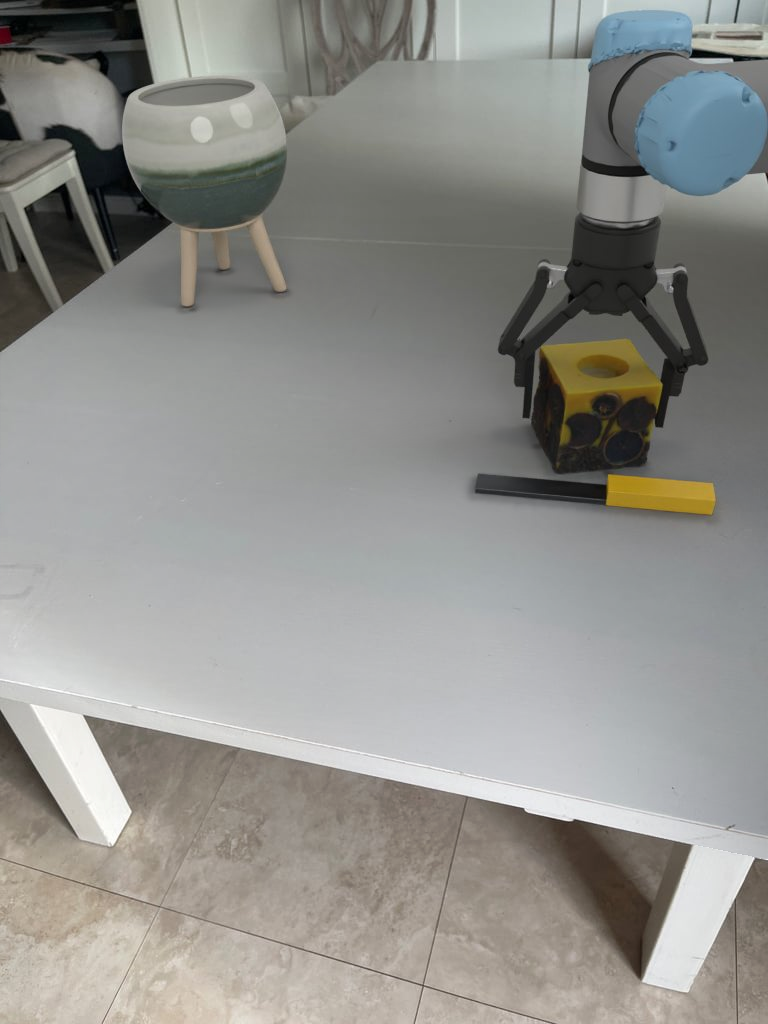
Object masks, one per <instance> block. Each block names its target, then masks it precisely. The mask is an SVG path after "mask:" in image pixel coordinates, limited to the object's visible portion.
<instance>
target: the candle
mask: <svg viewBox="0 0 768 1024" xmlns="http://www.w3.org/2000/svg"><path fill="white" fill-rule="evenodd" d="M660 380H661V378H659V377H658V376H657V375H656V373H654V371H653V370H652V369H651V368H650V366H649V365H648V364H647V363H646V361H645V360H644V359H643V357H642V355H640V353H639V352H638V350H637V348H636V347H635V346H634V344H633V343H632V341H631V340H630V338H618V339H610V340H599V341H598V340H596V341H586V342H572V343H571V342H570V343H558V344H543V345H541V346H540V347H539V349H538V382H537V386H536V389H535V393H534V396H533V401H532V402H533V403H532V405H533V407H532V413H531V418H530V420H531V422H530V425H531V426H533V430H534V431H535V435H536V437H537V439H538V441H539V444H540V446H541V447H542V448H543V451H544V452H545V455H546V456H547V457H548V459H549V461H550V463H551V466H552V470H553V471H554V472H555V473H557V474H564V473H577V472H585V471H589V472H591V471H600V470H607V469H615V468H616V469H617V468H618V469H621V468H623V467H642V466H644V465H646V463H647V462H648V455H649V451H650V449H651V448H650V447H651V436H652V432H653V429H654V425H655V416H656V413H657V409H658V405H659V401H660V396H661V391H662V385H663V384H662V383H661V381H660Z"/></svg>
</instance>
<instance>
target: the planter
mask: <svg viewBox="0 0 768 1024" xmlns="http://www.w3.org/2000/svg"><path fill="white" fill-rule="evenodd" d="M121 137H122V138H121V140H122V146H123V148H122V149H123V153H124V157H125V162H126V164H127V167H128V170H129V173H130V175H131V177H132V180H133V181H134V184H135V185H136V187H137V188H138V190H139V192H140V193H141V195H142V196H143V197H144V199H145V200H146V201H147V202H148V203H149V205H151V207H152V208H153V209H154V210H155V211H156V212H158V213H159V214H160V215H161V216H163V217H164V218H166V219H167V220H168V221H170V222H172V223H173V224H174V225H175V226H176V227H177V228H180V229H179V230H180V304H181V305H182V306H183V307H186V308H188V307H191V306H194V303H195V299H196V298H195V297H196V296H195V295H196V282H197V271H198V258H199V257H198V256H199V241H200V239H199V238H200V233H211V237H212V242H213V248H214V253H215V257H216V261H217V266H218V268H219V269H220V270H225V271H226V270H228V269H230V268H231V258H230V248H229V241H228V239H229V238H228V232H227V231H232V230H235V229H241V228H244V227H246V230H247V231H248V234H249V236H250V238H251V241H252V243H253V246H254V248H255V250H256V253H257V254H258V257H259V260H260V262H261V263H262V265H263V268H264V270H265V272H266V274H267V276H268V278H269V281H270V283H271V285H272V287H273V290H274V291H275V292H278V293H283V292H285V291H286V290H287V284H286V281H285V277H284V275H283V272H282V270H281V267H280V265H279V262H278V259H277V257H276V254H275V252H274V251H275V250H274V249H273V246H272V242H271V240H270V238H269V234H268V232H267V229H266V227H265V223H264V219H263V216H264V214H265V211H267V209H268V208H269V207H270V205H271V204H272V203H273V202H274V200H275V198H276V196H277V194H278V193H279V191H280V188H281V186H282V183H283V180H284V177H285V173H286V168H287V163H288V162H287V159H288V141H287V134H286V128H285V123H284V121H283V117H282V114H281V111H280V109H279V107H278V104H277V101H276V100H275V98H274V96H273V95H272V93H271V92H270V90H269V88H268V87H267V85H266V84H265V83H264V82H263V81H261V80H259V79H256V78H252V77H248V76H241V75H203V76H190V77H183V78H176V79H169V80H164V81H160V82H156V83H152V84H149V85H146V86H143V87H141V88H138V89H136V90H133V92H131V93H130V94H129V95H128V97H127V99H126V101H125V105H124V109H123V115H122V124H121Z"/></svg>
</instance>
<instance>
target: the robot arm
mask: <svg viewBox="0 0 768 1024" xmlns="http://www.w3.org/2000/svg"><path fill="white" fill-rule="evenodd" d="M693 27H694V26H693V21H692V19H691V17H690V16H689V15H687V14H686V13H684V12H680V11H674V10H666V9H665V10H663V9H643V10H642V9H638V10H637V9H636V10H628V11H627V10H626V11H619V12H615V13H611V14H609V15H606V16H605V17H603V18H602V19H601V20H600V21H599V22H598V24H597V26H596V28H595V32H594V38H593V43H592V49H591V50H592V51H591V55H590V61H589V64H588V65H587V70H588V74H589V75H588V85H587V93H586V94H587V95H586V105H585V106H586V107H585V116H584V128H583V139H582V148H581V159H580V160H581V161H580V166H579V174H578V175H579V176H578V185H577V186H578V187H577V195H576V196H577V197H576V205H575V207H576V210H577V211H578V212H579V213H578V214H577V215H576V216H575V218H574V224H573V226H574V227H573V236H572V237H573V238H572V247H571V258H570V261H568V264H567V265H566V266H564V265H558V264H551V261H550V260H549V259H547V258H543V259H540V260H539V261H538V263H537V267H536V273H535V276H534V277H535V278H534V281H533V283H532V284H531V285H530V288H529V290H528V291H527V292H526V294H525V296H524V298H523V299H522V301H521V302H520V304H519V306H518V307H517V309H516V310H515V312H514V313H513V316H512V317H511V318H510V321H509V322H508V323H507V325H506V326H505V329H504V330H503V332H502V333H501V335H500V337H499V340H498V341H499V342H498V347H497V352H498V354H499V355H501V356H506V355H507V356H510V357H512V358H513V360H514V376H513V384H514V387H515V388H524V389H523V390H524V391H523V403H522V404H523V405H522V419H528V420H529V419H530V420H531V410H532V404H533V403H532V402H533V389H534V377H535V376H534V375H535V365H536V364H535V362H536V351H537V350H539V349H540V346H543V345H545V343H546V342H547V341H548V340H549V339H550V338H551V337H553V336H554V335H555V334H556V333H557V332H558V331H559V330H561V328H562V327H563V326H565V324H566V323H568V322H569V321H570V320H573V319H574V318H575V317H576V316H577V315H578V314H580V313H581V312H582V311H585V312H587V313H588V314H589V315H590V316H593V315H594V316H598V315H604V314H607V315H610V316H616V317H623V314H626V313H629V312H631V314H632V315H633V316H634V318H635V319H636V320H637V321H638V322H639V323H640V324H641V325H642V326H643V327H644V329H645V330H646V331H647V333H648V334H649V335H650V337H651V338H652V339H653V341H654V342H655V343H656V345H657V346H658V348H659V349H660V350H661V352H662V353H663V354H664V355H665V356H666V358H664V359H663V363H662V371H661V374H660V381H661V383H662V384H663V385H662V391H661V396H660V401H659V405H658V409H657V413H656V416H655V419H654V427H655V428H659V429H663V428H664V424H665V420H666V419H665V418H666V415H667V410H668V409H667V408H668V404H669V399H670V397H677V398H678V397H679V396H680V395H681V394H682V390H683V385H684V380H685V376H686V373H688V371H689V368H690V367H693V366H696V365H697V366H700V367H702V366H705V365H707V364H708V362H709V355H708V351H707V346H706V343H705V340H704V338H703V337H704V336H703V334H702V331H701V329H700V325H699V323H698V319H697V317H696V314H695V312H694V311H695V310H694V309H693V305H692V303H691V299H690V297H689V294H688V287H689V286H688V285H689V277H688V271H687V267H686V265H685V263H681V262H679V263H676V264H674V266H673V267H672V268H658V269H657V268H656V265H655V262H656V255H657V250H658V244H659V238H660V231H661V226H662V220H661V218H660V217H659V215H661V214H662V213H663V211H664V208H665V203H666V202H665V201H666V196H667V189H668V187H669V188H670V189H673V190H675V191H677V192H678V193H680V194H683V195H686V196H693V197H707V196H712V195H716V194H718V193H720V192H722V191H724V190H725V189H728V188H729V187H731V186H732V185H733V184H736V183H738V182H740V181H741V180H742V179H743V178H744V177H746V175H756V174H757V175H758V174H768V59H756V60H742V61H740V60H739V61H728V62H718V63H717V62H715V63H703V62H702V63H701V62H697V61H694V60H691V59H690V57H691V56H692V53H693V47H692V41H693V40H692V39H693ZM561 281H564V283H565V285H566V287H567V288H568V290H569V291H568V292H567V294H565V295H564V297H563V298H562V300H561V301H560V302H559V303H558V304H556V306H554V308H553V309H551V311H549V312H548V313H547V314H546V315H545V316H544V317H543V318H542V319H541V320H540V321H539V322H538V323H537V324H536V325H535V326H534V327H532V329H530V330H529V332H527V334H526V335H524V336H523V337H522V338H520V336H521V334H522V333H523V331H524V329H525V328H526V326H527V324H529V321H530V320H531V318H532V317H533V315H534V314H535V312H536V311H537V308H538V307H539V306H540V304H541V302H542V301H543V299H544V297H545V295H546V292H547V290H551V289H554V288H555V287H556V285H557V283H559V282H561ZM657 284H659V285H661V286H662V287H663V290H664V292H665V293H666V294H672V297H673V303H674V307H675V309H676V312H677V315H678V318H679V321H680V324H681V326H682V329H683V332H684V334H685V337H686V340H687V342H688V343H687V344H688V346H689V348H684V347H683V345H682V344H681V343H680V341H679V340H678V339H677V337H676V336H675V335H674V333H673V332H672V331H671V330H670V328H669V327H668V325H667V323H666V322H664V320H663V319H662V317H661V316H660V315H659V313H658V312H657V311H656V309H655V308H654V306H653V305H652V303H651V302H650V299H649V298H648V296H647V295H648V294H649V293H650V292H651V291H652V290H653V289H654V288H655V287H656V286H657Z"/></svg>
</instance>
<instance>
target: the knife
mask: <svg viewBox="0 0 768 1024" xmlns="http://www.w3.org/2000/svg"><path fill="white" fill-rule="evenodd" d="M474 490H475V491H474V493H476V494H486V495H497V496H508V497H517V498H518V497H519V498H530V499H541V500H552V501H560V502H561V501H562V502H572V503H584V504H593V505H594V504H596V505H605V506H609V507H610V506H611V507H620V508H633V509H641V510H654V511H663V512H675V513H685V514H687V513H688V514H695V515H696V514H699V515H708V516H712V515H713V512H714V510H715V505H716V501H717V500H716V494H715V488H714V483H713V482H704V481H692V480H680V479H667V478H657V477H655V478H654V477H642V476H632V475H622V474H621V475H619V474H607V479H606V484H604V483H593V482H581V481H571V480H569V481H568V480H557V479H545V478H533V477H522V476H511V475H500V474H488V473H477V478H476V483H475V488H474Z"/></svg>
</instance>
